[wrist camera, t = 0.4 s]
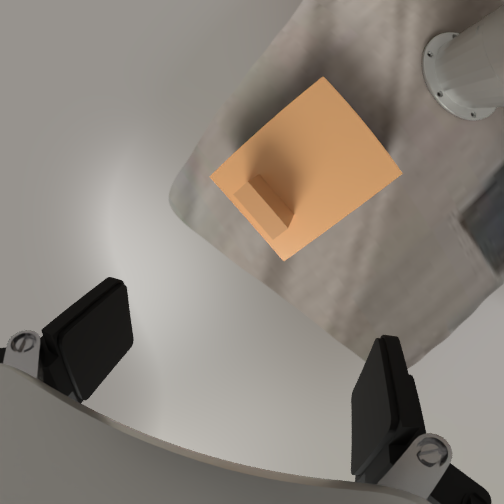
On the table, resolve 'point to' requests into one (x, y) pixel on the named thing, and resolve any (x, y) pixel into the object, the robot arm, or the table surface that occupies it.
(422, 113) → the table surface
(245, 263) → the table surface
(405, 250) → the table surface
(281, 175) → the lid
